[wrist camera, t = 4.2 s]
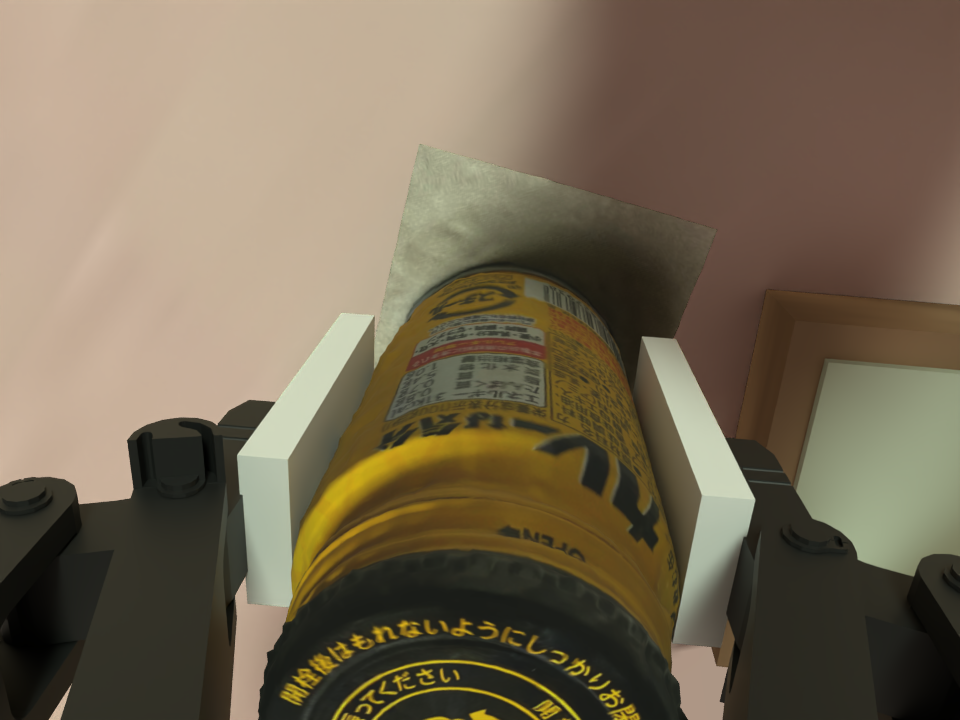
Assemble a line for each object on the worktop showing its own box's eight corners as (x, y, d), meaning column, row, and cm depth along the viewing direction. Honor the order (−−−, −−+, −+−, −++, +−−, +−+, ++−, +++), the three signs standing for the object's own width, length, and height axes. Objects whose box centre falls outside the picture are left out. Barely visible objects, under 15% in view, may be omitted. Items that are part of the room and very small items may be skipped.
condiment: (350, 446, 21) (148, 885, 10) (420, 142, 18) (235, 292, 7) (601, 512, 21) (675, 1012, 10) (714, 226, 18) (1000, 501, 7)
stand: (700, 605, 28) (718, 673, 25) (766, 289, 23) (799, 324, 20) (1041, 642, 27) (1104, 716, 24) (1178, 323, 22) (1277, 365, 19)
